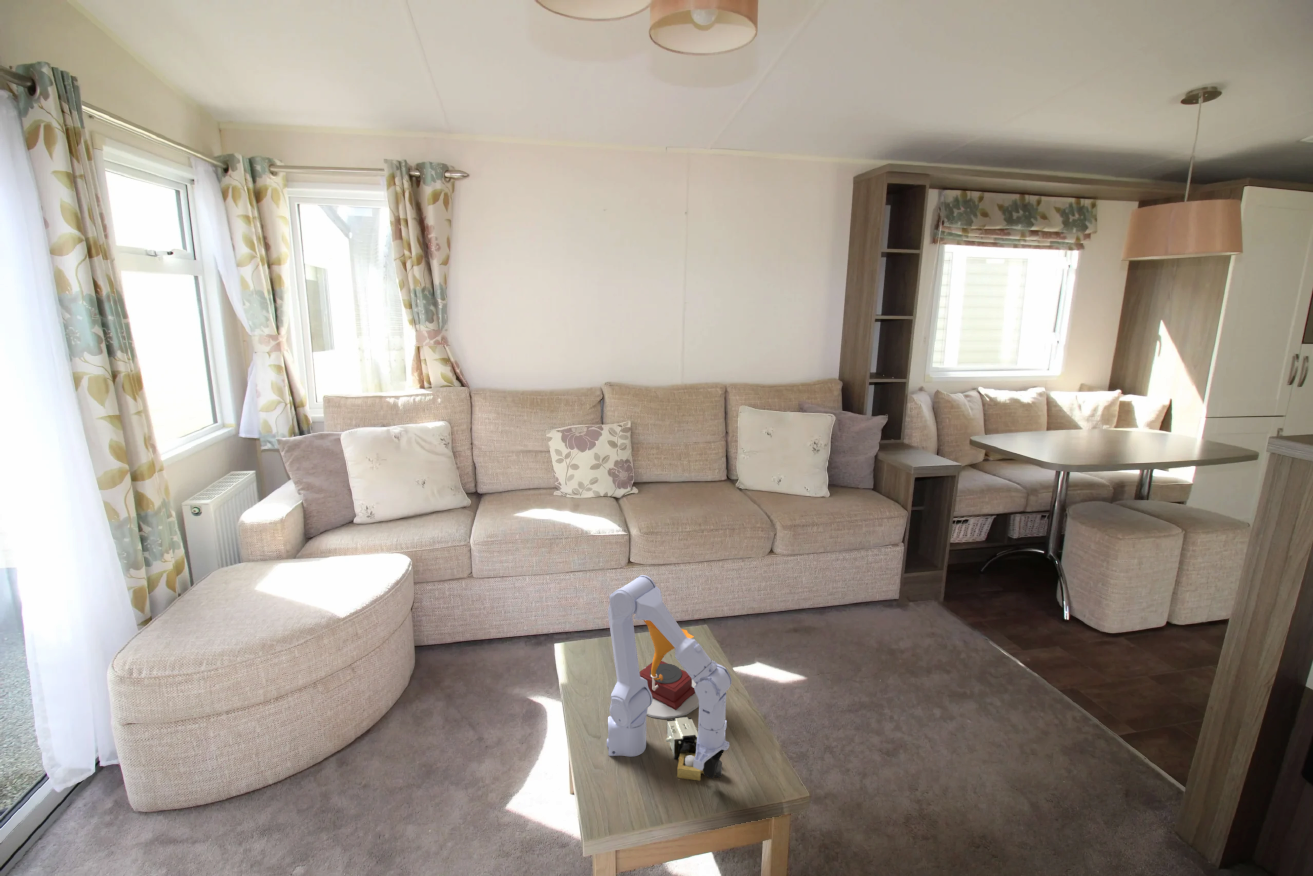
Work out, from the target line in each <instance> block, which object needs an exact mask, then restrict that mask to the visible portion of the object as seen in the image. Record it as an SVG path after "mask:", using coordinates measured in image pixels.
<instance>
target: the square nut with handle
mask: <svg viewBox="0 0 1313 876" xmlns="http://www.w3.org/2000/svg"><path fill="white" fill-rule="evenodd" d="M688 755H692V756H694V757H695V755H696V754H694V753H680V757H679V759H678V763H677V768H676V769H677V774H676V775H677V776H676V778H679V779H685V780H694V781H701V778H702V774H703V775H704V772H703V770H699V769H696V768H694V767H691V766H685V757H686V756H688ZM722 774H723V762H722V760H721V759H720V760H719V763H718V767H717V770H716V773H715V775H714V778H721V777H722Z"/></svg>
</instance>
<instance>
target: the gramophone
mask: <svg viewBox="0 0 1313 876" xmlns="http://www.w3.org/2000/svg"><path fill="white" fill-rule="evenodd" d="M642 621H644V624H646V626H647V629H648V632H649V635H650V639H651V641H652V643H653V647H654V653H653V654H654V655H653V658H652V662H650V663H649V664H648V665H647V666H645V667H644V668H643V669H641V670H639V672H640V677H642V678H644V679H646V680H647V683H648V688H649V690H650V692H651V694H652V698H653V701H652V704H651V705H650V706H649V707H648V712H647V714H646V717H647V716H648V717H650V718H653V719H654V718H655V719H660V720H661V719H662V720H665V719H667V720H670V719H673V718H675V717H680V716H687V715H689V714H690V713H692V712H693V711H694V710H696V709H697V708H699V699H698V697H697V695H696V693H695V690H694V686H696V684H695V682H694V681H693V680H692V678H691V677H690V676H689V675H688V673H687V672H686V671H685V669H684V670H683V669H681V668H680V667H679V666H677V665H676V664H672V663H668V662H665V661H663V658H664V657H665V656H666V655H667V654H668V653H669V652H671V651H672V650H675V647H674V646H673V645H672V644H671V643H670V642H669V641H668V640H667V638H666V637H665V636H664V635H663V634H662V633H661V632H660V631H659V630H658V628H657V627H656V626H655V625H654V624H653V623H652V622H651V621H650V620H642ZM681 630H682V631H683V632H684V634H685V635H686V637H687V638H690V639H694V637H695V636H694V635H692V634H690V633H689V632H688V630H687V629H683V628H681Z"/></svg>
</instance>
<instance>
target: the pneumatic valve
mask: <svg viewBox="0 0 1313 876" xmlns="http://www.w3.org/2000/svg"><path fill="white" fill-rule="evenodd" d="M666 736H667V737H665V742H666V743H669V745H670V748H671V753H672V755H673V759H674V760H679V757H680V753H694V754H696V752H695V751H696V745H697V736H698V727H696V725H695V723H694V721H693V719H692V717H688V716H687V715H684V716H680V717H675V718H670V719H667V720H666Z"/></svg>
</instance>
